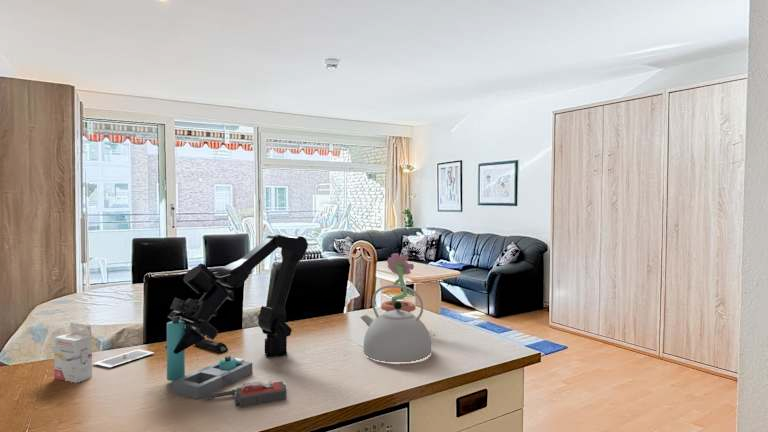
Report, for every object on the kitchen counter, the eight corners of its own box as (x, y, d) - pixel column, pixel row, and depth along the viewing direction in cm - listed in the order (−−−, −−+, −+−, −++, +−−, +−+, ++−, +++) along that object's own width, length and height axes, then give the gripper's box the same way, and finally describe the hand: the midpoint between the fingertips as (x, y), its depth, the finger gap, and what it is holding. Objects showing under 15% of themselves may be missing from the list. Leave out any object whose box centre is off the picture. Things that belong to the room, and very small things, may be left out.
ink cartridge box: (53, 379, 124) (52, 326, 124) (70, 373, 129) (70, 321, 128) (75, 383, 121) (75, 329, 121) (93, 377, 126) (93, 324, 126)
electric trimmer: (200, 344, 158) (200, 335, 158) (229, 351, 150) (228, 342, 150) (190, 347, 155) (190, 337, 155) (219, 354, 147) (219, 345, 147)
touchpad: (92, 366, 135) (92, 359, 135) (138, 352, 149) (138, 345, 149) (109, 371, 132) (109, 363, 132) (154, 356, 146) (154, 349, 146)
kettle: (344, 357, 145) (345, 287, 145) (373, 338, 166) (373, 277, 166) (419, 369, 135) (420, 294, 135) (439, 347, 156) (440, 282, 156)
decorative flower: (422, 325, 185) (423, 252, 184) (410, 334, 172) (411, 255, 172) (389, 321, 191) (390, 250, 190) (375, 329, 178) (376, 253, 178)
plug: (185, 373, 126) (185, 314, 125) (183, 379, 121) (183, 318, 121) (168, 375, 124) (168, 315, 124) (165, 381, 120) (165, 319, 120)
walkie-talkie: (283, 387, 121) (203, 400, 112) (283, 371, 121) (203, 383, 112) (291, 400, 113) (206, 415, 105) (291, 383, 113) (206, 396, 104)
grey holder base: (228, 368, 134) (228, 349, 134) (252, 372, 130) (252, 354, 130) (171, 393, 116) (171, 371, 116) (198, 399, 112) (198, 377, 112)
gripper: (174, 282, 131) (134, 327, 123) (206, 290, 119) (164, 341, 111) (200, 305, 138) (163, 349, 129) (233, 315, 125) (195, 365, 117)
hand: (170, 351), depth 122 cm, fingers closed on plug, 4 cm apart
